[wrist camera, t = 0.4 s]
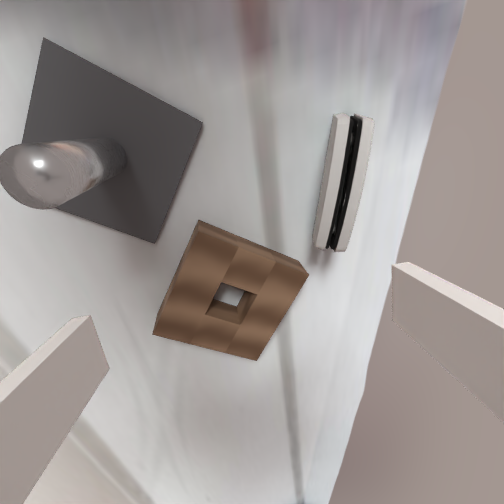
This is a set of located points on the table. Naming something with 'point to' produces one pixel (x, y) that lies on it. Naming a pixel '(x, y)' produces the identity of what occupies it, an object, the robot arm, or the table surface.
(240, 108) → the table surface
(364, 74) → the table surface
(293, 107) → the table surface
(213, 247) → the socket block
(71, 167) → the pin
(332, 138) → the napkin holder
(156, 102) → the mat
